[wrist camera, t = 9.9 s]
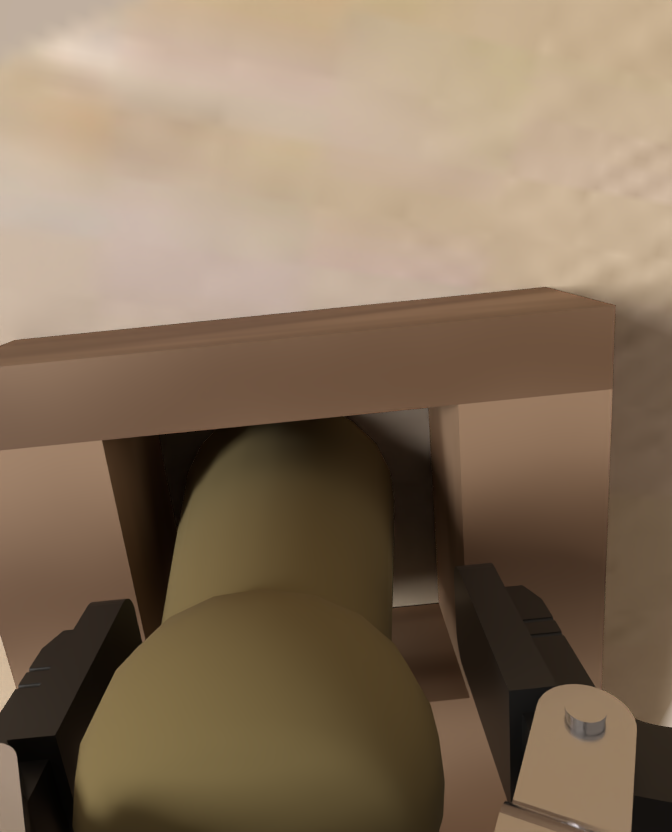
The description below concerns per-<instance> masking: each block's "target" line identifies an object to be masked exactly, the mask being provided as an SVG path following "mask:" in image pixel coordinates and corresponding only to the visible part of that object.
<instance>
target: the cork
mask: <svg viewBox="0 0 672 832" xmlns="http://www.w3.org/2000/svg"><path fill="white" fill-rule="evenodd" d="M394 502H395V501H394V494H393V487H392V480H391V473H390V470H389V468H388V466H387V464H386V462H385V460H384V458H383V456H382V454H381V452H380V450H379V448H378V447H377V445H376V443H375V442H374V441H373V440H372V439H371V438H370V437H369V436H368V435H367V434H365V433H364V432H363V431H362V430H361V429H360V428H359V427H358V426H357V425H356V424H355V423H354V422H353V421H351V420H349V419H347V418H345V417H343V416H340V417H330V418H320V419H310V420H300V421H290V422H280V423H270V424H260V425H250V426H240V427H230V428H220V429H216V430H215V431H214V432H213V433H212V434H211V435H210V436H209V437H208V438H207V439H206V440H205V441H204V442H203V443H202V444H201V446H200V448H199V450H198V452H197V454H196V457H195V459H194V461H193V463H192V465H191V467H190V469H189V471H188V474H187V479H186V485H185V491H184V497H183V502H182V508H181V514H180V520H179V525H178V531H177V537H176V543H175V548H174V554H173V560H172V566H171V571H170V577H169V583H168V589H167V594H166V600H165V606H164V611H163V617H162V623H161V626H160V627H159V628H157V629H156V630H155V631H154V632H153V633H152V634H151V635H150V636H149V637H148V638H147V639H146V640H145V641H144V642H143V643H142V644H140V645H139V646H138V647H137V648H136V649H135V650H134V651H133V653H132V654H131V655H130V656H129V657H128V658H127V659H126V660H125V661H124V662H123V663H122V664H121V665H120V666H119V667H118V668H117V670H116V671H115V673H114V675H113V677H112V679H111V681H110V683H109V685H108V687H107V689H106V691H105V693H104V695H103V697H102V700H101V702H100V704H99V706H98V708H97V710H96V712H95V714H94V716H93V718H92V720H91V722H90V724H89V726H88V728H87V731H86V733H85V735H84V737H83V739H82V741H81V743H80V748H79V755H78V761H77V768H76V775H75V786H74V805H73V824H72V826H73V830H74V832H439V830H440V826H441V823H442V819H443V811H444V790H445V778H444V771H443V763H442V756H441V748H440V741H439V735H438V731H437V727H436V723H435V719H434V716H433V712H432V708H431V705H430V703H429V701H428V700H427V698H426V696H425V694H424V693H423V691H422V689H421V687H420V685H419V684H418V682H417V680H416V678H415V677H414V675H413V673H412V671H411V670H410V668H409V666H408V664H407V663H406V661H405V660H404V658H403V656H402V655H401V653H400V652H399V650H398V649H397V647H396V645H395V644H394V643H393V642H392V600H393V551H394Z"/></svg>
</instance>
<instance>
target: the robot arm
mask: <svg viewBox="0 0 672 832" xmlns="http://www.w3.org/2000/svg"><path fill="white" fill-rule="evenodd" d="M454 588H455V611H456V632H457V642H458V649H459V654H460V659H461V663H462V666H463V669H464V672H465V675H466V678H467V681H468V684H469V687H470V690H471V693H472V696H473V699H474V702H475V705H476V708H477V711H478V714H479V717H480V720H481V723H482V726H483V729H484V732H485V735H486V738H487V741H488V744H489V747H490V750H491V753H492V756H493V759H494V762H495V765H496V768H497V771H498V774H499V777H500V780H501V783H502V786H503V789H504V792H505V795H506V798H507V801H505V802H504V803H503V805H502V807H501V810H500V813H499V816H498V819H497V823H496V827H495V831H494V832H672V728H671V727H664V726H658V725H653V724H649V723H646V722H642V721H639V720H637V719H635V718H634V716H633V714H632V713H631V711H630V710H629V709H628V707H627V706H626V705H625V704H624V703H623V702H622V701H620V700H619V699H618V698H616V697H615V696H613V695H612V694H610V693H608V692H606V691H604V690H601V689H599V688H596V687H595V685H594V684H593V682H592V680H591V679H590V677H589V675H588V674H587V672H586V670H585V669H584V667H583V665H582V664H581V662H580V661H579V659H578V657H577V656H576V654H575V652H574V651H573V649H572V647H571V646H570V644H569V642H568V641H567V639H566V638H565V636H564V635H562V631H561V629H560V628H559V626H558V624H557V623H556V621H555V620H553V616H552V614H551V613H550V611H549V610H548V608H547V606H546V605H545V603H544V601H543V600H542V599H541V598H540V597H539V596H537V595H536V594H534V593H533V592H532V591H530V590H529V589H527V588H526V587H525V586H523V585H518V586H508V587H505V586H504V584H503V582H502V580H501V578H500V576H499V574H498V572H497V570H496V568H495V567H494V565H493V564H492V563H483V564H473V565H463V566H455V569H454ZM140 644H142V639H141V634H140V630H139V625H138V621H137V616H136V612H135V608H134V605H133V602H132V601H131V600H130V599H117V600H107V601H98V602H91V603H90V604H89V605H88V606H87V608H86V609H85V611H84V613H83V614H82V616H81V618H80V619H79V621H78V623H77V624H76V626H75V627H74V629H73V630H63V631H62V632H61V633H60V634H59V635H57V636H56V637H55V638H54V639H53V640H52V641H50V642H49V643H48V644H47V645H46V646H44V647H43V648H42V649H41V651H40V652H39V654H38V655H37V657H36V658H35V660H34V662H33V663H32V665H31V666H30V668H29V672H26V674H25V675H24V677H23V678H22V680H21V682H20V683H19V685H18V689H15V691H14V692H13V694H12V695H11V697H10V699H9V700H8V702H7V703H6V705H5V706H4V708H3V709H2V711H1V712H0V832H74V830H73V826H72V824H73V805H74V786H75V775H76V768H77V761H78V755H79V748H80V743H81V741H82V739H83V737H84V735H85V733H86V731H87V728H88V726H89V724H90V722H91V720H92V718H93V716H94V714H95V712H96V710H97V708H98V706H99V704H100V702H101V700H102V697H103V695H104V693H105V691H106V689H107V687H108V685H109V683H110V681H111V679H112V677H113V675H114V673H115V671H116V670H117V668H118V667H119V666H120V665H121V664H122V663H123V662H124V661H125V660H126V659H127V658H128V657H129V656H130V655H131V654H132V653H133V651H134V650H135V649H136V648H137V647H138V646H139V645H140Z"/></svg>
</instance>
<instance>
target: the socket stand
mask: <svg viewBox="0 0 672 832" xmlns="http://www.w3.org/2000/svg"><path fill="white" fill-rule="evenodd" d="M615 307H616V305H612V304H608V303H605V302H601V301H597V300H593V299H589V298H585V297H582V296H578V295H574V294H570V293H566V292H562V291H558V290H555V289H551V288H547V287H542V288H532V289H522V290H512V291H502V292H492V293H482V294H472V295H461V296H451V297H441V298H431V299H421V300H411V301H401V302H391V303H381V304H371V305H361V306H351V307H341V308H331V309H321V310H311V311H301V312H291V313H281V314H271V315H261V316H251V317H241V318H231V319H221V320H211V321H201V322H191V323H181V324H171V325H161V326H151V327H141V328H131V329H121V330H111V331H101V332H91V333H81V334H71V335H61V336H51V337H41V338H31V339H21V340H14V341H11V342H9V343H6V344H3V345H1V346H0V635H1V638H2V642H3V645H4V648H5V652H6V655H7V658H8V662H9V665H10V669H11V672H12V675H13V679H14V682H15V685H16V689H18V685H19V683H20V682H21V680H22V678H23V677H24V675H25V674H26V672H29V668H30V666H31V665H32V663H33V662H34V660H35V658H36V657H37V655H38V654H39V652H40V651H41V649H42V648H43V647H44V646H46V645H47V644H48V643H49V642H50V641H52V640H53V639H54V638H55V637H56V636H57V635H59V634H60V633H61V632H62V631H63V630H73V629H74V627H75V626H76V624H77V623H78V621H79V619H80V618H81V616H82V614H83V613H84V611H85V609H86V608H87V606H88V605H89V604H90V603H91V602H98V601H107V600H117V599H130V600H131V601H132V602H133V605H134V608H135V612H136V616H137V621H138V625H139V630H140V634H141V639H142V643H143V642H144V641H145V640H146V639H147V638H148V637H149V636H150V635H151V634H152V633H153V632H154V631H155V630H156V629H157V628H159V627H160V626H161V623H162V617H163V611H164V606H165V600H166V594H167V589H168V583H169V577H170V571H171V566H172V560H173V554H174V548H175V543H176V537H177V529H176V524H175V519H174V513H173V508H172V503H171V497H170V492H169V487H168V482H167V476H166V471H165V466H164V460H163V455H162V450H161V445H160V439H159V435H160V434H170V433H180V432H190V431H200V430H210V429H220V428H230V427H240V426H250V425H260V424H270V423H280V422H290V421H300V420H310V419H320V418H330V417H340V416H350V415H360V414H370V413H380V412H390V411H400V410H410V409H420V408H428V411H429V429H430V448H431V466H432V485H433V503H434V522H435V540H436V559H437V577H438V596H439V603H438V604H428V605H418V606H408V607H398V608H392V642H393V643H394V644H395V645H396V647H397V649H398V650H399V652H400V653H401V655H402V656H403V658H404V660H405V661H406V663H407V664H408V666H409V668H410V670H411V671H412V673H413V675H414V677H415V678H416V680H417V682H418V684H419V685H420V687H421V689H422V691H423V693H424V694H425V696H426V698H427V700H428V701H429V703H430V705H431V708H432V712H433V716H434V719H435V723H436V727H437V731H438V735H439V741H440V748H441V756H442V763H443V771H444V778H445V790H444V811H443V819H442V823H441V826H440V830H439V832H494V831H495V827H496V823H497V819H498V816H499V813H500V810H501V807H502V805H503V803H504V802H505V801H507V798H506V795H505V792H504V789H503V786H502V783H501V780H500V777H499V774H498V771H497V768H496V765H495V762H494V759H493V756H492V753H491V750H490V747H489V744H488V741H487V738H486V735H485V732H484V729H483V726H482V723H481V720H480V717H479V714H478V711H477V708H476V705H475V702H474V699H473V696H472V693H471V690H470V687H469V684H468V681H467V678H466V675H465V672H464V669H463V666H462V663H461V659H460V654H459V649H458V642H457V632H456V611H455V588H454V569H455V566H463V565H473V564H483V563H492V564H493V565H494V567H495V568H496V570H497V572H498V574H499V576H500V578H501V580H502V582H503V584H504V586H505V587H508V586H518V585H523V586H525V587H526V588H527V589H529V590H530V591H532V592H533V593H534V594H536V595H537V596H539V597H540V598H541V599H542V600H543V601H544V603H545V605H546V606H547V608H548V610H549V611H550V613H551V614H552V616H553V620H555V621H556V623H557V624H558V626H559V628H560V629H561V631H562V635H564V636H565V638H566V639H567V641H568V642H569V644H570V646H571V647H572V649H573V651H574V652H575V654H576V656H577V657H578V659H579V661H580V662H581V664H582V665H583V667H584V669H585V670H586V672H587V674H588V675H589V677H590V679H591V680H592V682H593V684H594V685H595V687H596V688H599V689H601V690H602V666H603V638H604V611H605V583H606V556H607V528H608V501H609V473H610V445H611V418H612V390H613V363H614V335H615Z"/></svg>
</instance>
